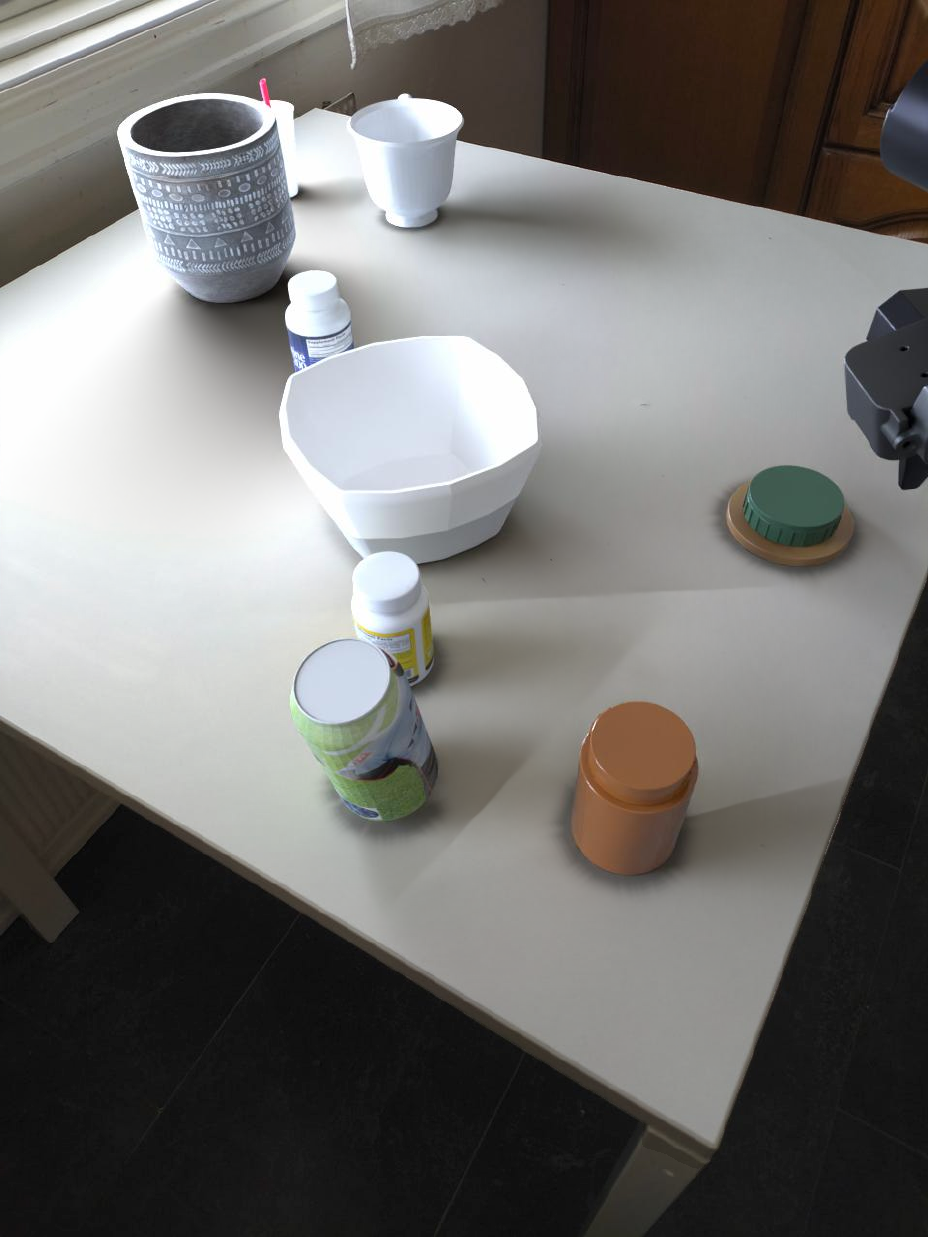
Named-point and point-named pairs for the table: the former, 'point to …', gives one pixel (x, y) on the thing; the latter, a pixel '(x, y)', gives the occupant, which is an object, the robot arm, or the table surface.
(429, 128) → the teacup
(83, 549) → the table surface
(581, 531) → the table surface
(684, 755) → the jam jar
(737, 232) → the table surface
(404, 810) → the beverage can
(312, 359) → the pill bottle
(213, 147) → the planter
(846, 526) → the coaster
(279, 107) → the cup
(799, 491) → the jar lid
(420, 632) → the supplement bottle
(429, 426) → the bowl
